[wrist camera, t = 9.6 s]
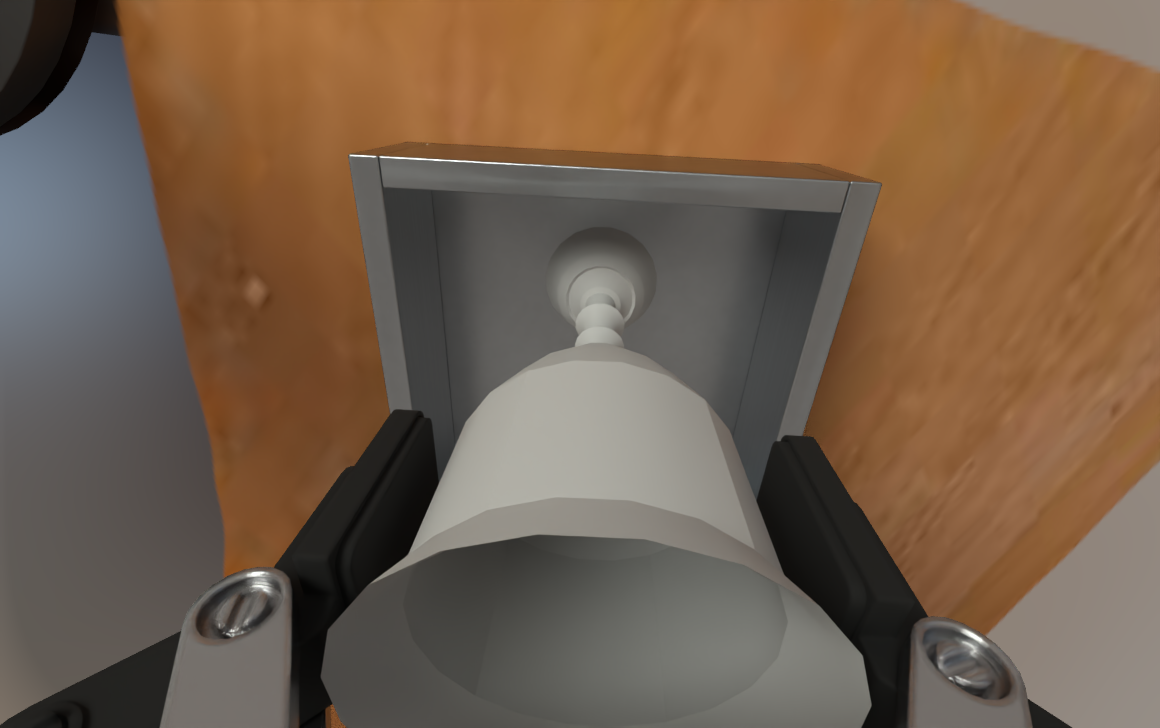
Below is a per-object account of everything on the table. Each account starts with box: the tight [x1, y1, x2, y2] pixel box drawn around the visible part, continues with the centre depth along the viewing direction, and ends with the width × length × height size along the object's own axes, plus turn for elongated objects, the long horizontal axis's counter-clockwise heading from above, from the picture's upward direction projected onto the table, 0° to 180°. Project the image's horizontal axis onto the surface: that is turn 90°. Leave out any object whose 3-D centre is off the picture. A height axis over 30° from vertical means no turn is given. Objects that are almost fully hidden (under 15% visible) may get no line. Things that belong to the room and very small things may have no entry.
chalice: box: [321, 227, 872, 728], centre depth 15 cm, size 7×7×18 cm
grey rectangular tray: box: [348, 142, 882, 500], centre depth 23 cm, size 17×20×5 cm
